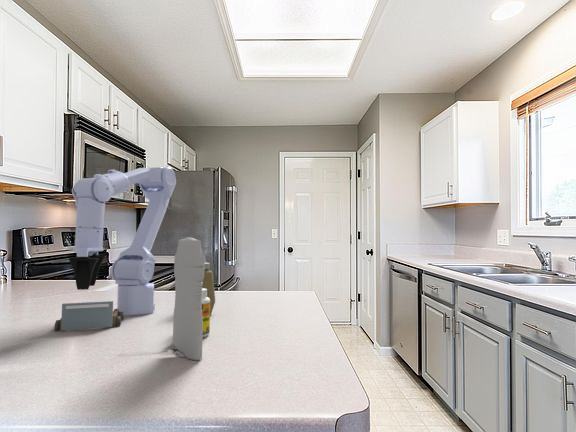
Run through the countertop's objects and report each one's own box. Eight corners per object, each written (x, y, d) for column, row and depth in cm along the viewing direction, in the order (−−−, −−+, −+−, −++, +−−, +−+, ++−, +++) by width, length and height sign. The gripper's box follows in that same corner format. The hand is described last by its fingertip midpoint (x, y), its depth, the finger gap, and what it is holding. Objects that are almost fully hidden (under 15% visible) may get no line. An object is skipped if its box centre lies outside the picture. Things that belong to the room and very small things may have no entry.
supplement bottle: (188, 340, 77) (189, 292, 77) (180, 334, 81) (181, 288, 82) (213, 336, 80) (214, 289, 80) (204, 331, 84) (205, 286, 85)
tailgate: (112, 325, 82) (113, 301, 83) (111, 327, 81) (112, 302, 82) (61, 329, 79) (62, 303, 79) (60, 330, 78) (61, 304, 78)
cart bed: (123, 323, 91) (123, 308, 91) (119, 331, 83) (120, 315, 83) (63, 327, 87) (64, 311, 87) (54, 336, 79) (54, 319, 79)
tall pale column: (211, 358, 66) (213, 237, 67) (190, 364, 63) (193, 237, 64) (183, 345, 73) (185, 236, 75) (164, 349, 71) (166, 236, 72)
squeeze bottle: (183, 313, 103) (184, 249, 104) (211, 310, 107) (212, 249, 108) (188, 319, 96) (189, 251, 97) (218, 316, 99) (219, 250, 100)
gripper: (77, 229, 90) (73, 284, 89) (62, 226, 77) (57, 291, 75) (108, 230, 92) (105, 284, 91) (99, 227, 79) (95, 290, 78)
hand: (86, 287), depth 84 cm, fingers open, 7 cm apart
